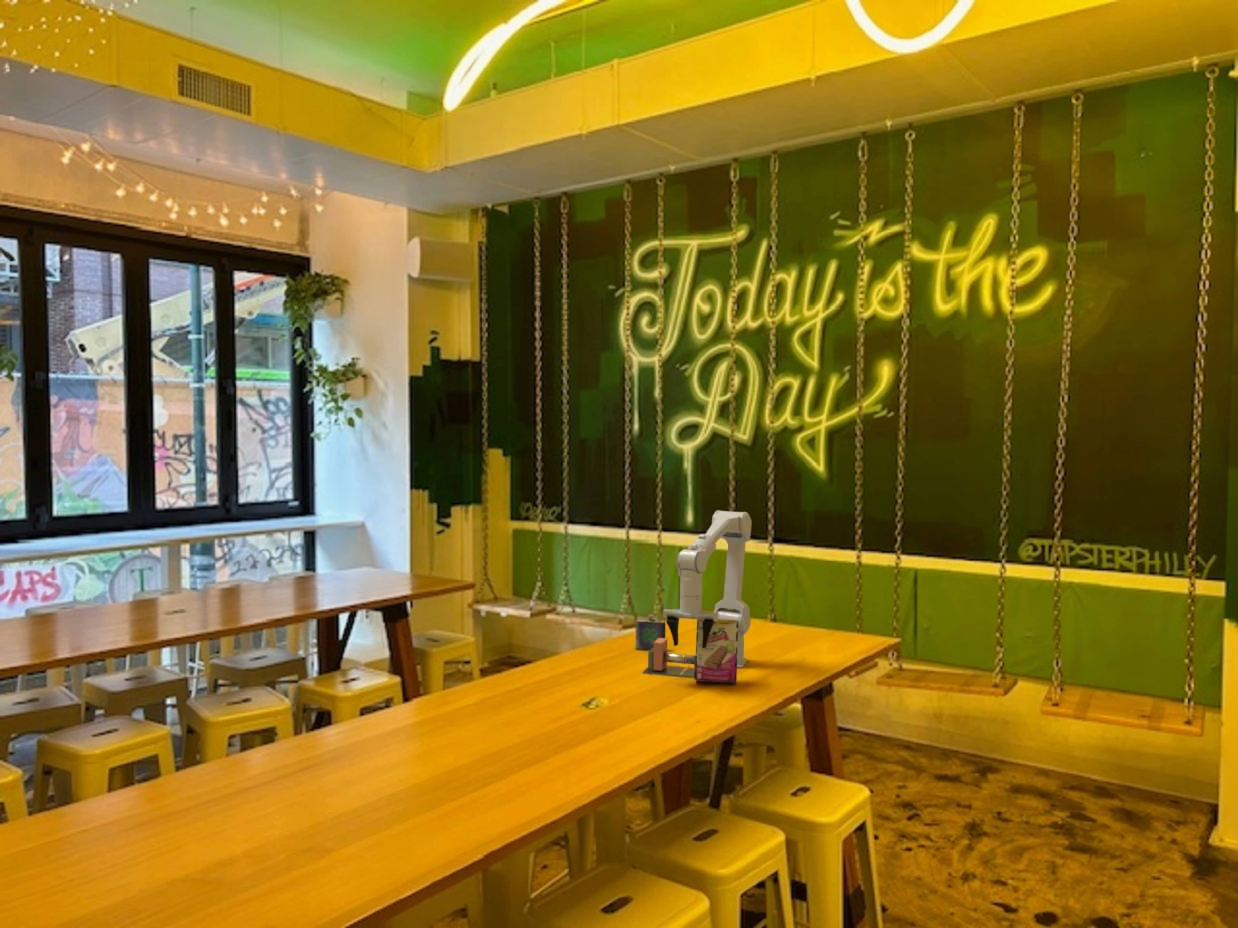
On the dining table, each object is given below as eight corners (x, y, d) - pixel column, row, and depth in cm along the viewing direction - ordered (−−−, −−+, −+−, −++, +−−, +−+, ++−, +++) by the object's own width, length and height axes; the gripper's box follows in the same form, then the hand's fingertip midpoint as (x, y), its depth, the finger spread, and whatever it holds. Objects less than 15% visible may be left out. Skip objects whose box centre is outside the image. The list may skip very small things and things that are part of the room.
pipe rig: (651, 665, 264) (651, 645, 264) (706, 670, 260) (707, 650, 259) (642, 673, 256) (643, 652, 255) (700, 678, 251) (700, 658, 251)
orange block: (658, 664, 262) (659, 637, 262) (666, 665, 261) (667, 638, 261) (653, 669, 256) (653, 642, 256) (661, 670, 256) (662, 643, 255)
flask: (634, 649, 282) (635, 614, 282) (636, 647, 285) (637, 613, 285) (664, 652, 280) (665, 616, 280) (666, 649, 283) (666, 614, 282)
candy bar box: (694, 680, 244) (696, 617, 248) (695, 680, 249) (697, 618, 253) (737, 682, 243) (738, 619, 246) (737, 682, 248) (738, 620, 251)
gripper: (660, 595, 243) (659, 647, 244) (715, 599, 239) (714, 651, 240) (666, 591, 250) (666, 641, 251) (720, 594, 246) (719, 645, 247)
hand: (690, 646), depth 246 cm, fingers open, 7 cm apart
